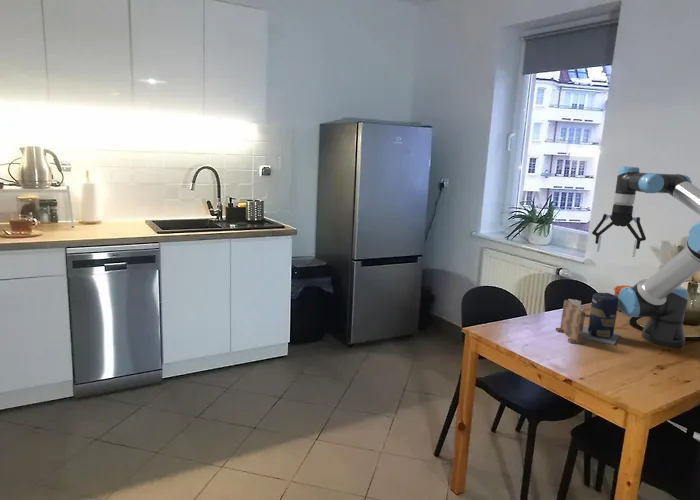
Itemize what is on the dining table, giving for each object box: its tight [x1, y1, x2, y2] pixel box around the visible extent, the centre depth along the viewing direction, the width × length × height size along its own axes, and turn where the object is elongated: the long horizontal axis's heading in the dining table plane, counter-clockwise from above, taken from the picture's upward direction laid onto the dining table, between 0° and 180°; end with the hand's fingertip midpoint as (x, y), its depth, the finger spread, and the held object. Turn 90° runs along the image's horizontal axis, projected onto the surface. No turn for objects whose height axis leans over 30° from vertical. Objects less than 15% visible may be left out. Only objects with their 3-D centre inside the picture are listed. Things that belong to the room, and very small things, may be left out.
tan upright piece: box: [555, 299, 587, 345], centre depth 205 cm, size 16×6×13 cm, turn 0°
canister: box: [587, 292, 618, 338], centre depth 206 cm, size 10×10×18 cm
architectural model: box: [567, 298, 585, 311], centre depth 236 cm, size 3×7×7 cm, turn 57°
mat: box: [582, 325, 620, 346], centre depth 208 cm, size 14×14×1 cm
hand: (615, 253), depth 216 cm, fingers open, 13 cm apart
